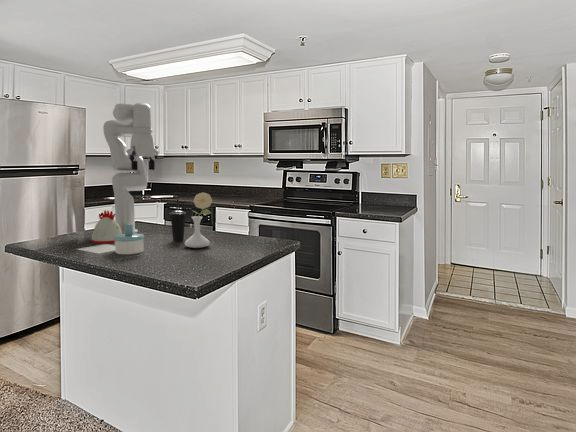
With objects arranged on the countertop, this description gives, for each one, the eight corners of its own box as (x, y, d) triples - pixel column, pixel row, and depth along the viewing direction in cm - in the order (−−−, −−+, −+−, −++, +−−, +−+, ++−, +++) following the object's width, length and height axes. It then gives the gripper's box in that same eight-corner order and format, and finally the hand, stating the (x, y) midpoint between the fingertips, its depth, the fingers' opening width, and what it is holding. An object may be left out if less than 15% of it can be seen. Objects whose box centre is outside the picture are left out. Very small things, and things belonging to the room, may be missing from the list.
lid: (107, 239, 176) (106, 224, 175) (131, 235, 186) (130, 221, 185) (126, 242, 170) (126, 227, 169) (150, 237, 180) (149, 223, 179)
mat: (76, 250, 181) (76, 249, 181) (105, 245, 193) (105, 243, 193) (98, 255, 174) (98, 253, 174) (127, 249, 186) (127, 247, 185)
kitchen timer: (112, 245, 193) (110, 212, 192) (85, 243, 196) (83, 211, 194) (129, 239, 207) (128, 209, 205) (103, 238, 210) (102, 208, 208)
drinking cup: (177, 242, 201) (176, 200, 199) (167, 240, 206) (166, 199, 203) (189, 240, 207) (189, 199, 205) (179, 238, 212) (178, 198, 209)
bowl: (109, 253, 177) (109, 239, 176) (131, 248, 186) (131, 235, 186) (127, 256, 171) (126, 242, 171) (148, 251, 181) (148, 238, 180)
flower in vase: (180, 249, 188) (179, 192, 184) (190, 244, 199) (189, 190, 195) (208, 250, 185) (207, 193, 182) (217, 245, 196) (216, 191, 193)
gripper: (151, 133, 201) (152, 169, 203) (120, 130, 186) (121, 169, 188) (162, 132, 197) (163, 169, 199) (132, 130, 182) (133, 170, 185)
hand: (143, 169), depth 194 cm, fingers open, 9 cm apart
